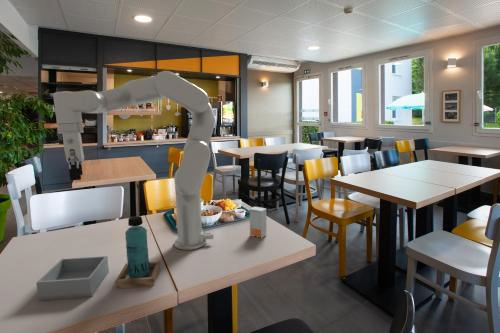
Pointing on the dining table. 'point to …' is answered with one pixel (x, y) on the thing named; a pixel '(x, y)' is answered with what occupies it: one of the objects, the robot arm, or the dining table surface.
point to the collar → (138, 282)
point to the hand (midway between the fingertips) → (76, 177)
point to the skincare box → (258, 221)
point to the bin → (73, 278)
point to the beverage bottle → (137, 248)
